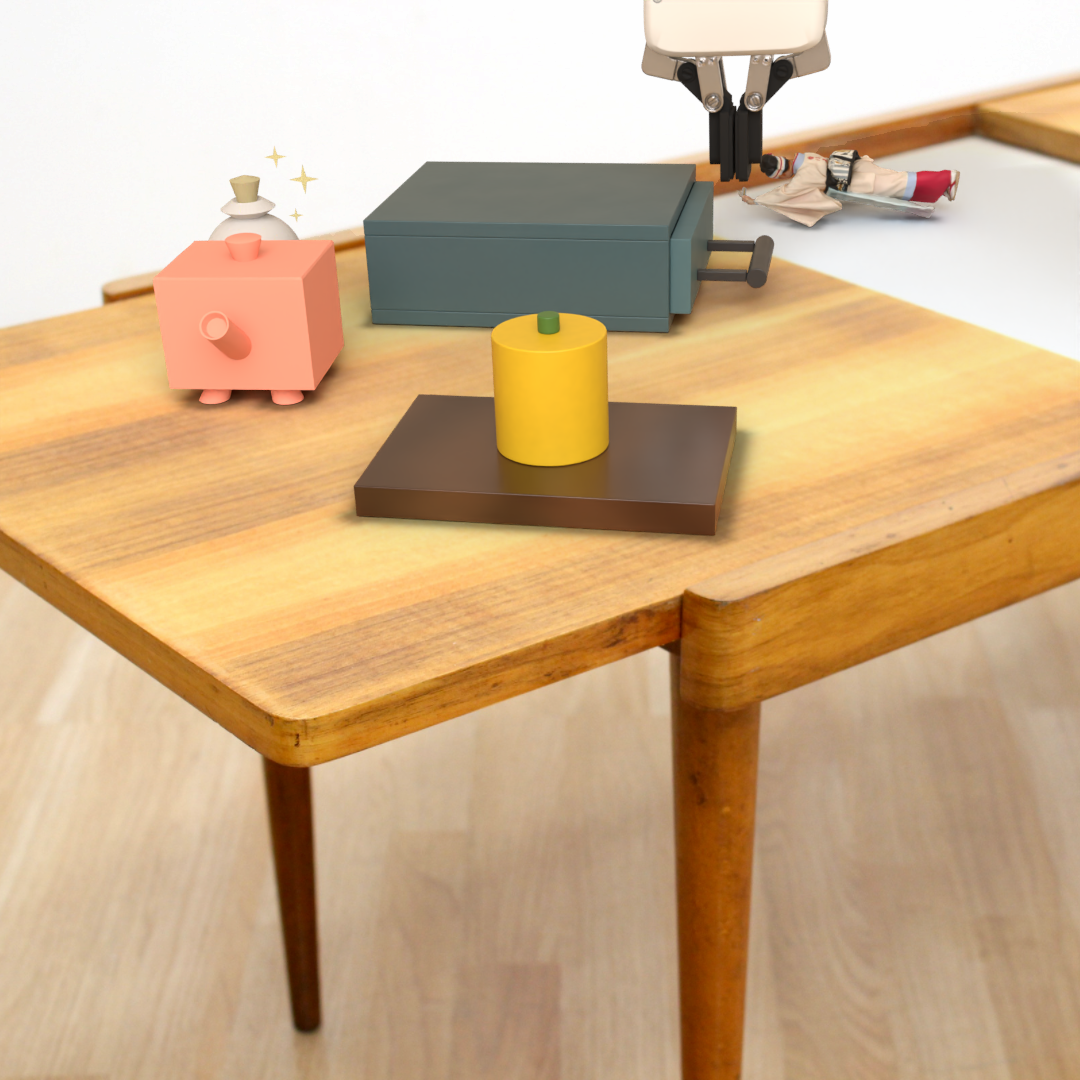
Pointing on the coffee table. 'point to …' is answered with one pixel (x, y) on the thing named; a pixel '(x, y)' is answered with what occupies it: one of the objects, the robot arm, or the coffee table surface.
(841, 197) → the figurine
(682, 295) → the drawer
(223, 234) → the corked potion bottle
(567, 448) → the pepper
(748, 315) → the coffee table surface
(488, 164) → the cabinet
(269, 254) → the pink cube teapot
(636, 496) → the board
